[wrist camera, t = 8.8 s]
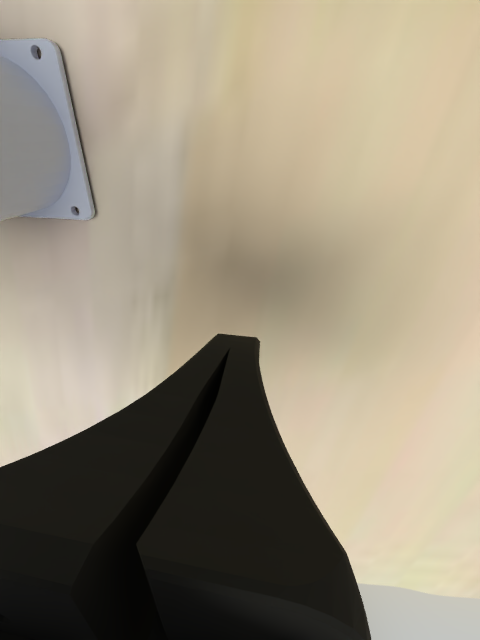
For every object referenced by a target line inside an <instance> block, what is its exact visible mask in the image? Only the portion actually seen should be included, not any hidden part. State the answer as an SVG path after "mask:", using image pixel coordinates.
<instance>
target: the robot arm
mask: <svg viewBox="0 0 480 640" xmlns="http://www.w3.org/2000/svg"><path fill="white" fill-rule="evenodd" d="M38 48H40V50H41V54H42V56H41V59H39V58H38V55H37V49H38ZM75 207H77V208H78V209H79V214H78V213H77V212H76V210H75ZM94 215H95V209H94V205H93V200H92V195H91V191H90V186H89V182H88V177H87V172H86V168H85V163H84V158H83V154H82V149H81V144H80V140H79V135H78V131H77V126H76V121H75V117H74V112H73V107H72V103H71V98H70V93H69V89H68V84H67V80H66V75H65V70H64V66H63V61H62V56H61V52H60V50H59V47H58V46H57V45H56V43H54V42H53V41H52V40H49V39H46V38H30V39H4V40H0V221H3V220H6V219H10V218H13V217H16V216H18V217H37V218H55V219H73V220H89V219H91V218H93V217H94ZM259 349H260V341H259V340H258V339H257V338H256V337H246V336H236V335H226V334H217V335H216V336H215V337H214V338H213V339H212V340H210V341H209V342H208V343H207V344H206V345H205V346H204V347H203V348H202V349H201V350H200V351H199V352H198V353H196V354H195V355H194V356H193V357H192V358H191V359H190V360H189V361H187V362H186V363H185V364H184V365H183V366H182V367H180V368H179V369H178V370H177V371H176V372H175V373H173V374H172V375H171V376H169V377H168V378H167V379H166V380H164V381H163V382H162V383H160V384H159V385H158V386H157V387H155V388H154V389H153V390H151V391H150V392H148V393H147V394H146V395H144V396H143V397H141V398H140V399H138V400H136V401H135V402H133V403H132V404H130V405H129V406H127V407H125V408H124V409H122V410H120V411H119V412H117V413H115V414H113V415H112V416H110V417H108V418H106V419H104V420H102V421H101V422H99V423H97V424H95V425H93V426H92V427H90V428H88V429H86V430H84V431H82V432H80V433H78V434H76V435H74V436H72V437H70V438H68V439H66V440H64V441H62V442H59V443H57V444H55V445H53V446H51V447H48V448H46V449H44V450H42V451H39V452H37V453H35V454H32V455H30V456H28V457H25V458H23V459H20V460H18V461H15V462H13V463H10V464H7V465H5V466H2V467H0V640H371V635H370V631H369V626H368V622H367V617H366V613H365V609H364V605H363V602H362V598H361V595H360V592H359V589H358V585H357V582H356V579H355V576H354V573H353V571H352V568H351V565H350V562H349V559H348V556H347V553H346V551H345V550H344V548H343V547H342V545H341V544H340V542H339V541H338V539H337V537H336V536H335V534H334V533H333V531H332V530H331V528H330V527H329V525H328V523H327V522H326V520H325V519H324V517H323V515H322V514H321V512H320V511H319V509H318V507H317V505H316V504H315V502H314V500H313V499H312V497H311V495H310V493H309V492H308V490H307V488H306V486H305V485H304V483H303V481H302V479H301V477H300V475H299V473H298V471H297V469H296V467H295V465H294V463H293V461H292V459H291V457H290V455H289V453H288V451H287V449H286V447H285V445H284V443H283V440H282V438H281V436H280V433H279V431H278V428H277V426H276V423H275V421H274V418H273V415H272V413H271V410H270V407H269V404H268V400H267V397H266V394H265V390H264V386H263V382H262V377H261V372H260V367H259Z"/></svg>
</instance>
